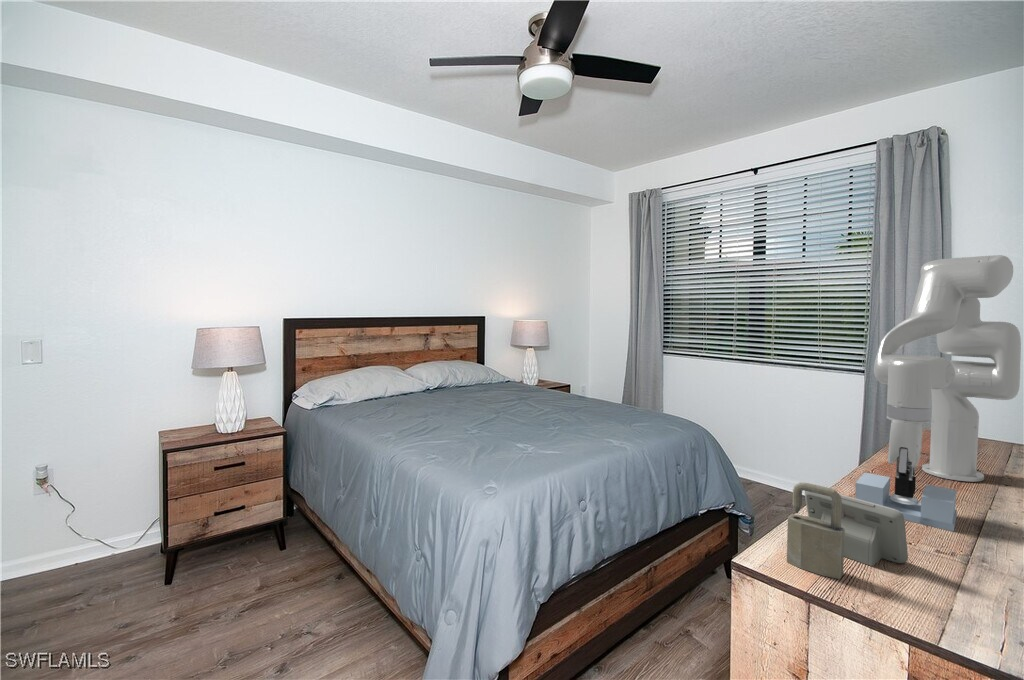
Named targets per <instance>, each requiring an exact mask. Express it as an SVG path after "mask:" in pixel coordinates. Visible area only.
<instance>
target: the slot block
mask: <svg viewBox="0 0 1024 680" xmlns="http://www.w3.org/2000/svg"><path fill="white" fill-rule="evenodd" d="M890 486H891V477H889V476H885V475H880V474H876V473H869V472H863V473H862V475H861V476H860V477H859V478H858V480H856V482H855V492H854V493H855V497H854V498H856V499H860V500H864V501H867V502H871V503H875V504H879V505H882V506H886V507H889V508H893V509H896V510H898V511H900V512H901V513H902V514H903V516H904V521H907V522H911V523H917V524H920V525H923V526H928V527H933V528H937V529H942V530H944V531H950V532H953V533H954V531H955V526H956V522H957V516H958V514H957V513H958V511H957V509H956V503H957V502H956V501H957V489H953V488H947V487H943V486H937V485H934V484H933V485H932V484H928V483H926V484H925V486H924V489H923V491H922V494H921V497H920V499H921V500H920V501H918V504H917V505H908V504H902V503H898V502H895V501H893V500H892V499H891V498H890V497H891V495H890V491H891V490H890V489H891V487H890Z"/></svg>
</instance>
